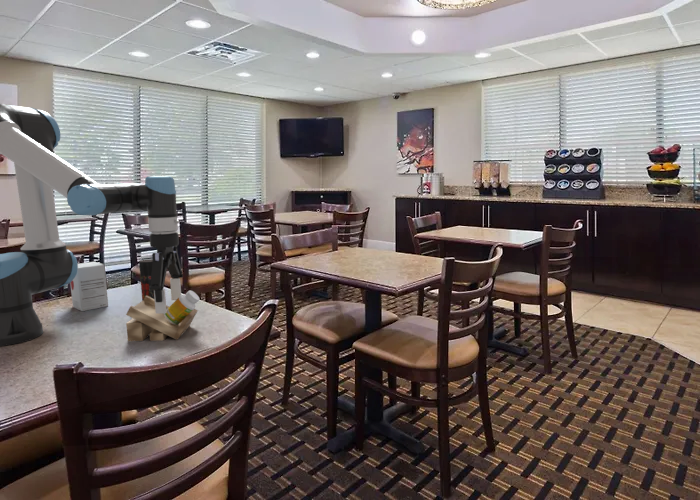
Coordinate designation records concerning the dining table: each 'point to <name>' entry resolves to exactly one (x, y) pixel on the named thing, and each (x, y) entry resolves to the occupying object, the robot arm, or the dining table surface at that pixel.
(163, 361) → the dining table surface
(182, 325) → the cradle
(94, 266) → the supplement box
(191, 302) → the supplement bottle
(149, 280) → the deodorant
